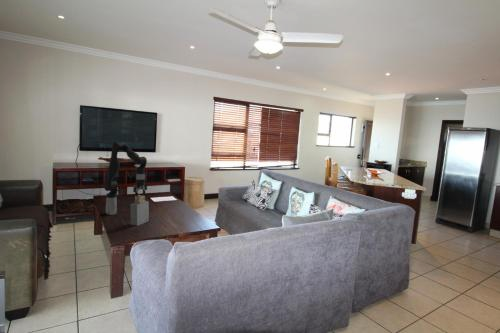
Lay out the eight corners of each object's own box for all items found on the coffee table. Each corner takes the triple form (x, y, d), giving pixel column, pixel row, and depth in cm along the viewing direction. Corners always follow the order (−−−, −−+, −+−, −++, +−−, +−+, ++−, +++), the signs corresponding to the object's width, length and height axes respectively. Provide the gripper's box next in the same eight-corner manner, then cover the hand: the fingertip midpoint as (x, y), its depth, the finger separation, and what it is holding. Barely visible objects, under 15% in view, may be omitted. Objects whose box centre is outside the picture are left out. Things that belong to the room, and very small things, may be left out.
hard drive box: (142, 219, 277) (142, 199, 274) (148, 221, 274) (149, 201, 271) (130, 224, 263) (130, 203, 260) (136, 226, 260) (137, 205, 257)
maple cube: (135, 202, 264) (135, 196, 263) (140, 201, 269) (140, 195, 268) (139, 203, 261) (139, 197, 261) (144, 202, 267) (144, 196, 266)
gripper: (143, 176, 270) (143, 193, 272) (131, 178, 257) (131, 196, 260) (149, 177, 267) (149, 194, 269) (137, 180, 254) (137, 197, 256)
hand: (140, 195), depth 264 cm, fingers open, 8 cm apart
